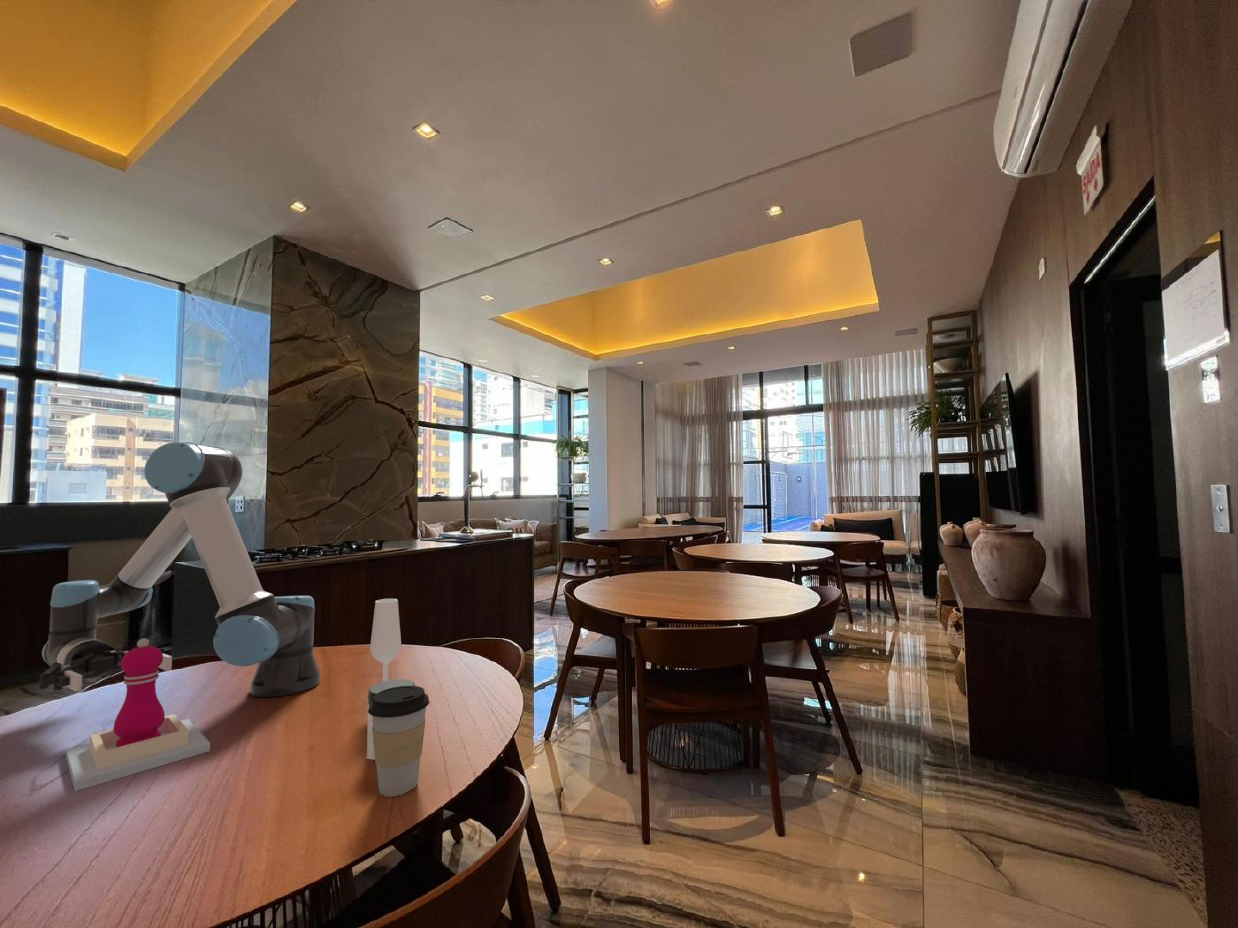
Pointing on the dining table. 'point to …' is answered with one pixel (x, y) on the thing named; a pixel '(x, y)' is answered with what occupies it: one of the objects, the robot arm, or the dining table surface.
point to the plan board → (133, 753)
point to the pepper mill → (140, 696)
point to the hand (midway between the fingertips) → (126, 672)
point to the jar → (372, 693)
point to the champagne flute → (385, 633)
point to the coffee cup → (398, 737)
